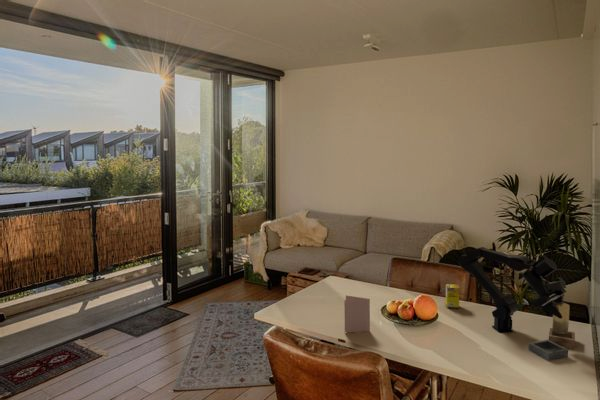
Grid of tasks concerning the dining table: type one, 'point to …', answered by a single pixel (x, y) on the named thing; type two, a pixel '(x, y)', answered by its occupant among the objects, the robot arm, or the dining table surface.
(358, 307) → the greeting card
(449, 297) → the supplement box
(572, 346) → the walnut socket
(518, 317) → the dining table surface
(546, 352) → the tray
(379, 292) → the dining table surface
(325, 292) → the dining table surface
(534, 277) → the robot arm
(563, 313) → the tan cylinder
